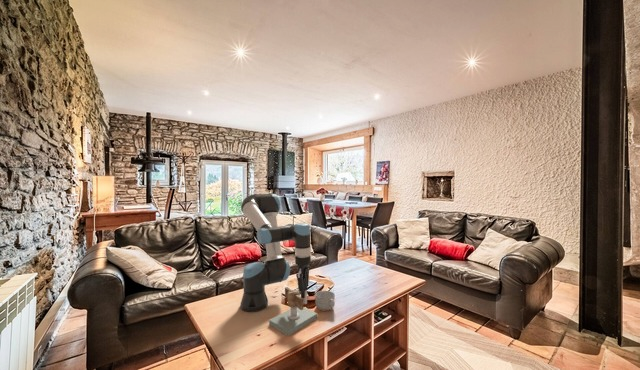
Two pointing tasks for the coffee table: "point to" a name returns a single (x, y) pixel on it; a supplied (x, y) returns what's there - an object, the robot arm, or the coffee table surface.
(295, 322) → the grey-green base
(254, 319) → the coffee table surface
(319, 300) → the teacup
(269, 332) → the coffee table surface
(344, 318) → the coffee table surface
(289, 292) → the knob
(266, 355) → the coffee table surface
